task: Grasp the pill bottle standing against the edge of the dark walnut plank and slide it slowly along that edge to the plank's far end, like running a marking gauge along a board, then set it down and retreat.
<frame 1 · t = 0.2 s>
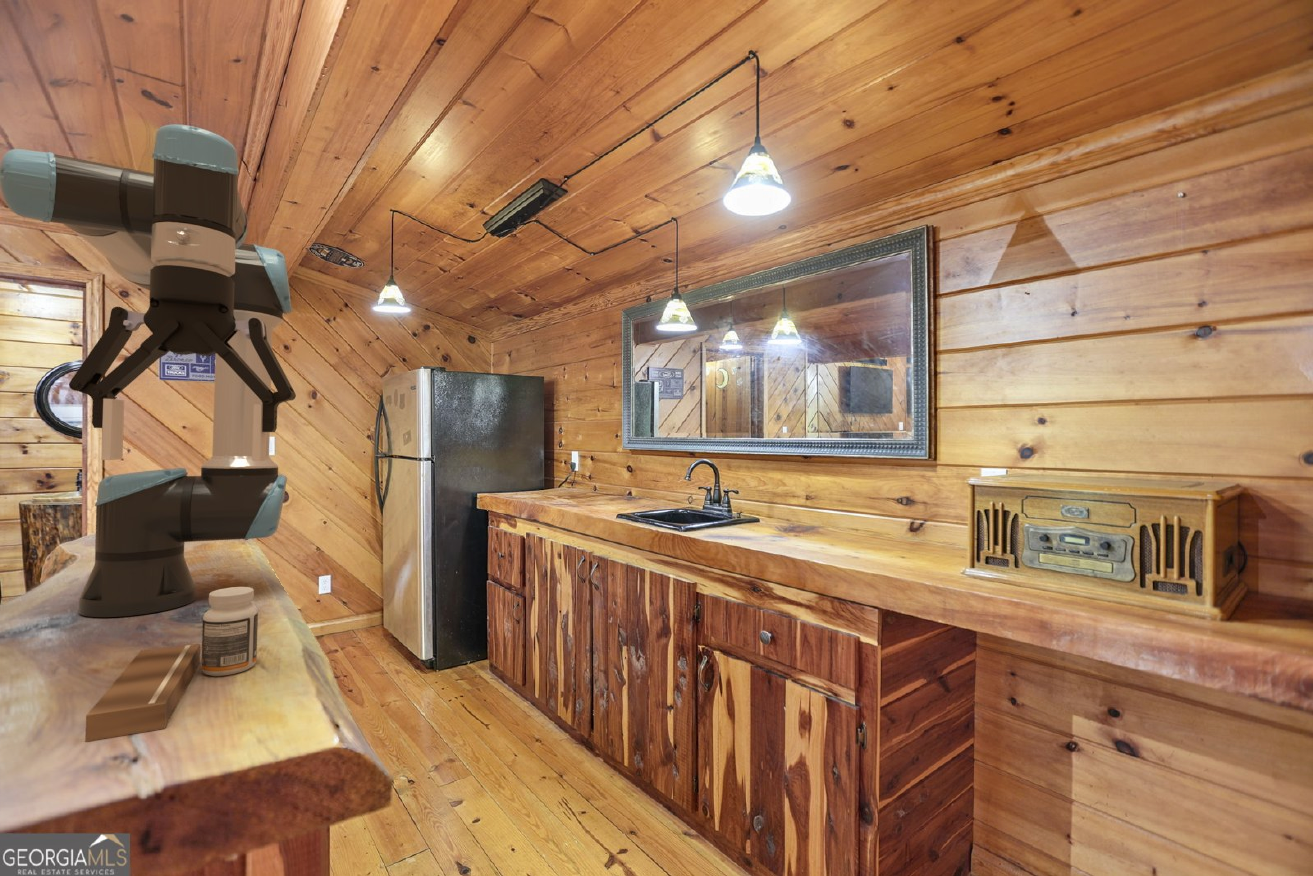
hand: (188, 460, 67), 27 cm above the counter, fingers open, 13 cm apart
plank: (151, 696, 68), on the counter
pill bottle: (229, 670, 76), on the counter
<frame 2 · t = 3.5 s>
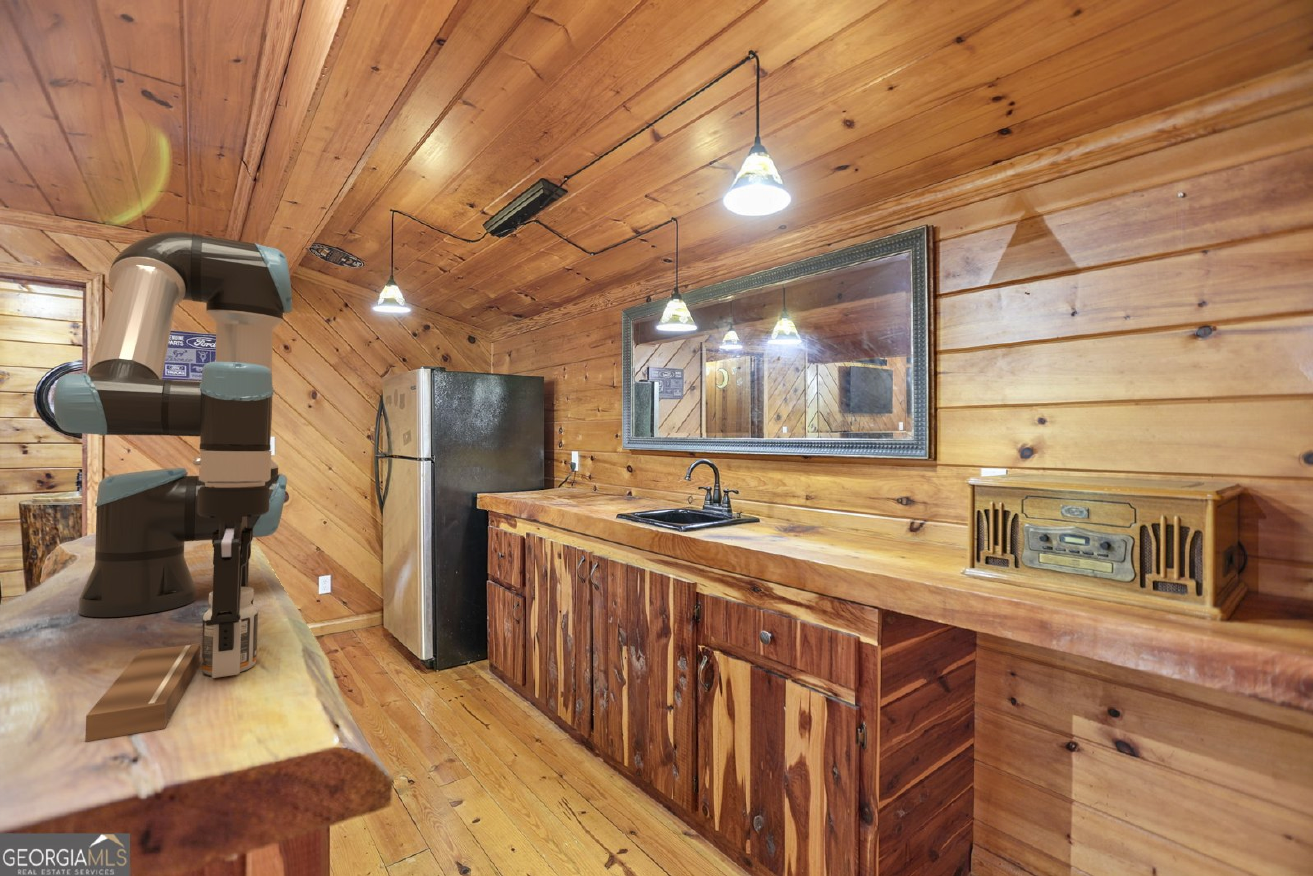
hand: (229, 665, 76), 0 cm above the counter, fingers closed on pill bottle, 6 cm apart
pill bottle: (229, 670, 76), on the counter, touching gripper
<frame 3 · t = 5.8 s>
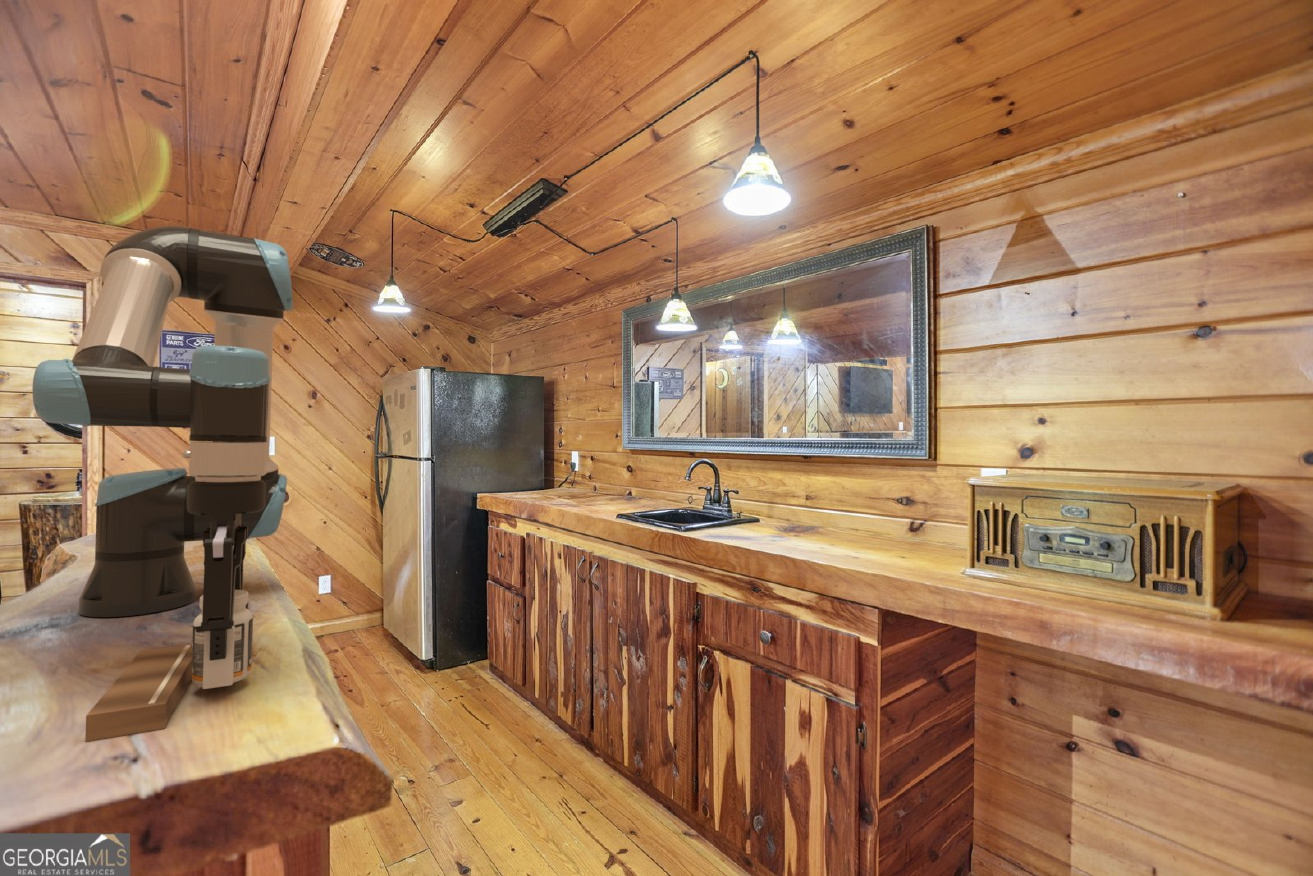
hand: (222, 675, 70), 1 cm above the counter, fingers closed on pill bottle, 6 cm apart
pill bottle: (222, 680, 70), point 1 cm above the counter, touching gripper
when the fingers open (1 cm above the counter, at t = 8.6 s): pill bottle stays where it is, on the counter.
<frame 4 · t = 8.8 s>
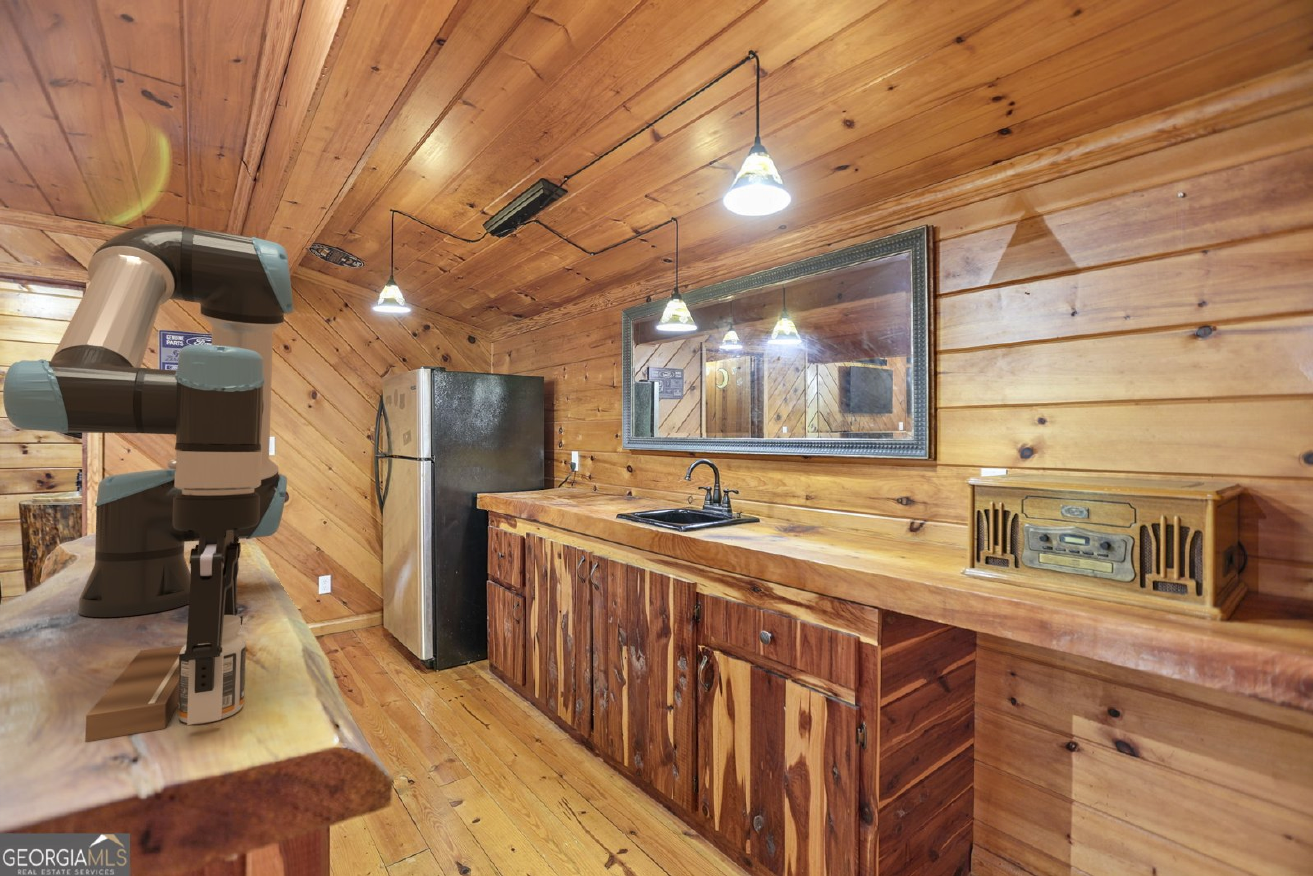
hand: (212, 702, 64), 1 cm above the counter, fingers open, 8 cm apart
pill bottle: (211, 715, 64), on the counter
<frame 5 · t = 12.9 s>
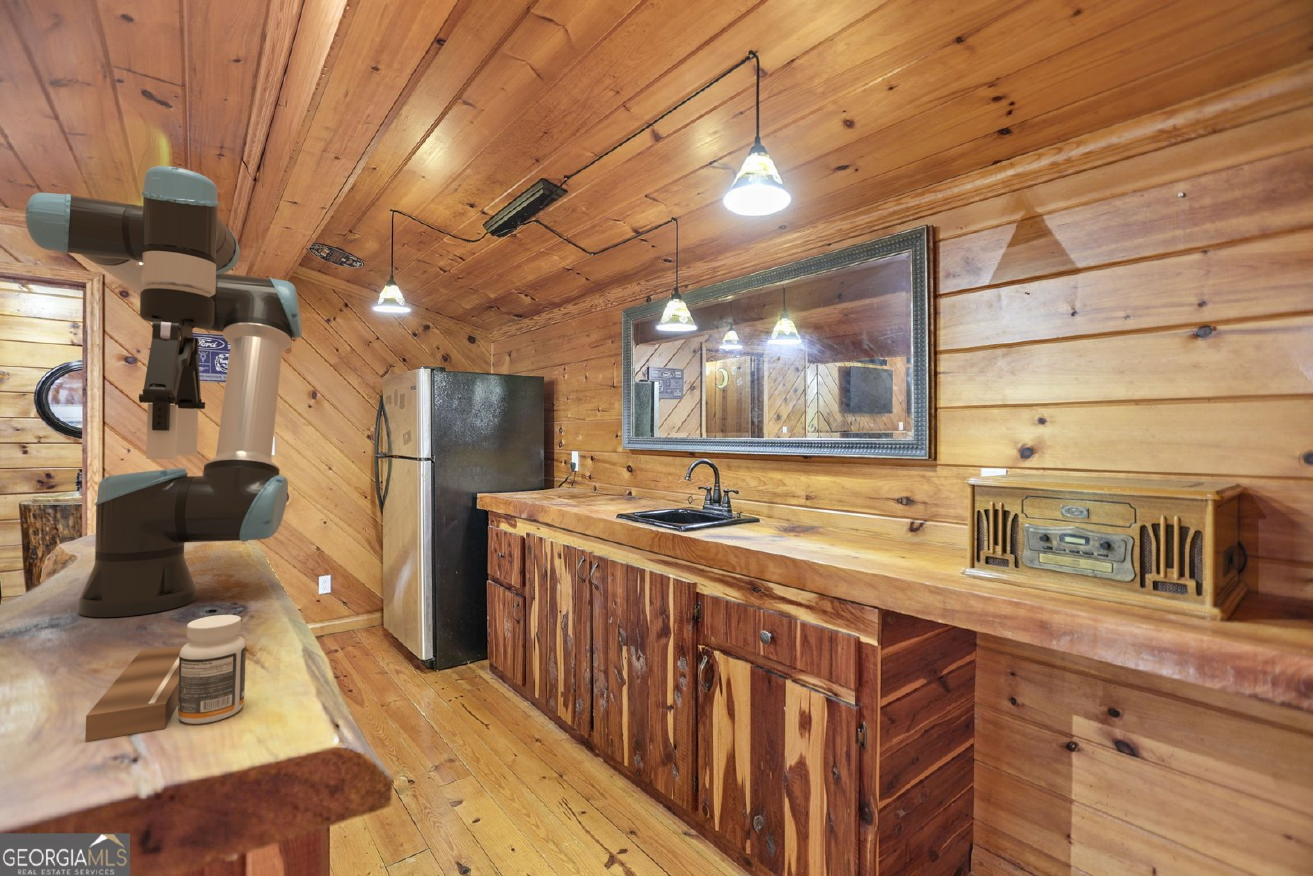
hand: (173, 457, 77), 27 cm above the counter, fingers open, 13 cm apart
nothing on the counter moved.
at the end: pill bottle inside the target area (0.1 cm from its centre), on the counter; pill bottle tilted 0°; the gripper is holding nothing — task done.
